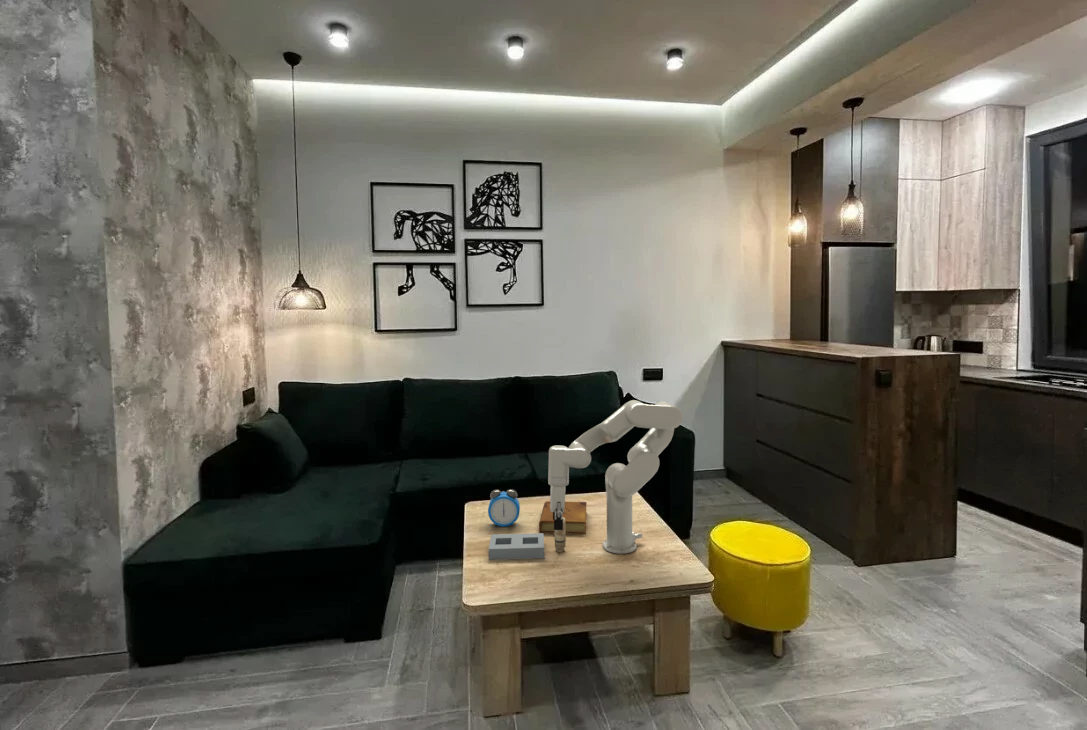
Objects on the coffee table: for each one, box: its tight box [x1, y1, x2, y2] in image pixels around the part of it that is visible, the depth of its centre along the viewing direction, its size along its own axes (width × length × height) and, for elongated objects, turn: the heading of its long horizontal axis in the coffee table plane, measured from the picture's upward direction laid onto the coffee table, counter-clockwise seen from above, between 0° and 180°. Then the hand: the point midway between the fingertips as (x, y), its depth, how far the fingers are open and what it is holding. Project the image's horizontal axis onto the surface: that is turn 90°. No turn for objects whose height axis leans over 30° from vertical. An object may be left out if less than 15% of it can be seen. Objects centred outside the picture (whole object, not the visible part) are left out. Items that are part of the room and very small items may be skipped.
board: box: [488, 532, 545, 561], centre depth 202 cm, size 20×13×4 cm, turn 91°
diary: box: [538, 500, 588, 535], centre depth 229 cm, size 23×19×6 cm
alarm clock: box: [487, 488, 521, 528], centre depth 228 cm, size 13×6×15 cm, turn 91°
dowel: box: [554, 517, 567, 553], centre depth 202 cm, size 4×4×12 cm
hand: (557, 524), depth 202 cm, fingers open, 9 cm apart
